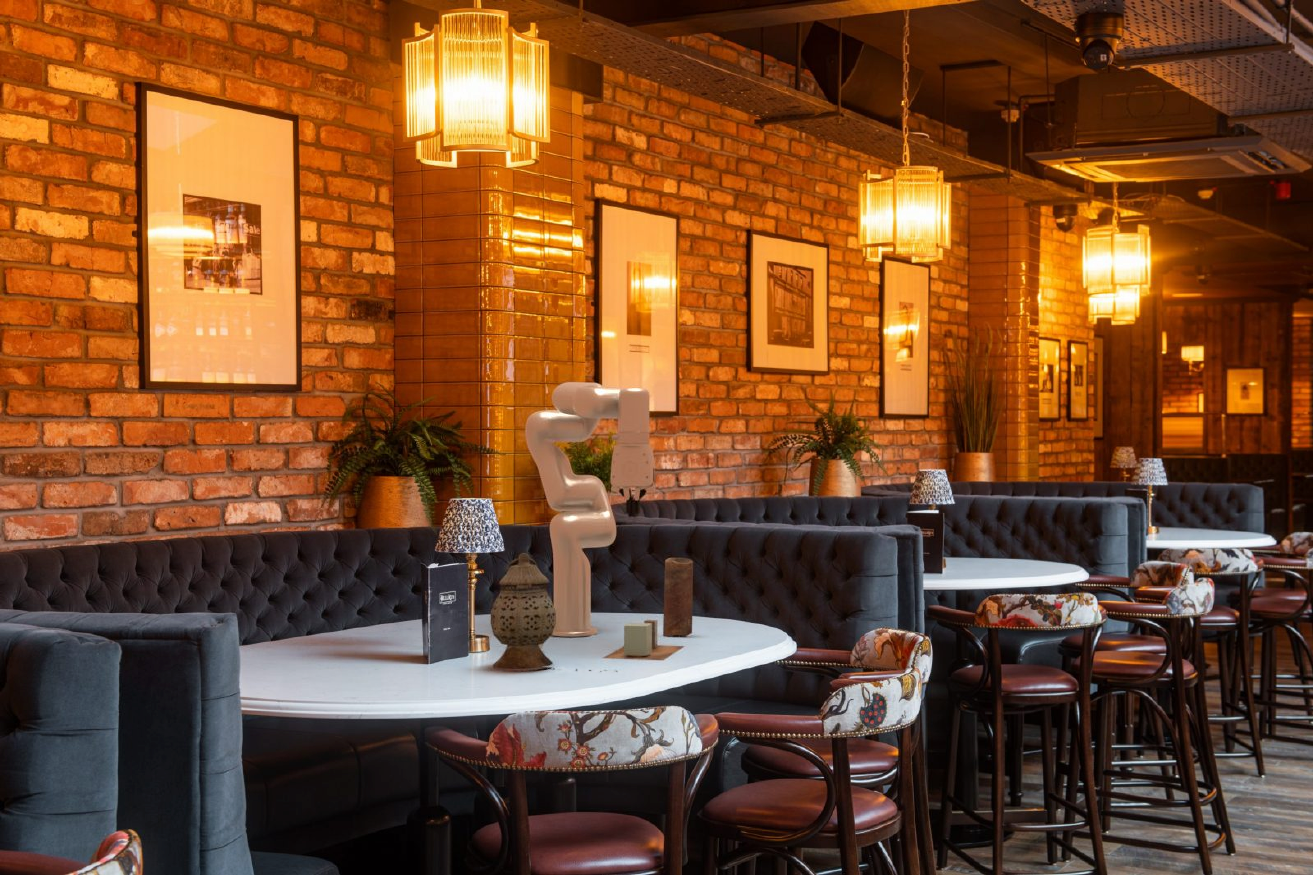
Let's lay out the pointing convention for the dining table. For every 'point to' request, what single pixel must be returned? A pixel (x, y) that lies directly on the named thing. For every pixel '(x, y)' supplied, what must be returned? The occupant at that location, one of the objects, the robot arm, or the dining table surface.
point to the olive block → (638, 639)
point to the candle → (678, 597)
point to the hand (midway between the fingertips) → (633, 516)
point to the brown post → (653, 632)
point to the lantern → (523, 618)
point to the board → (656, 654)
